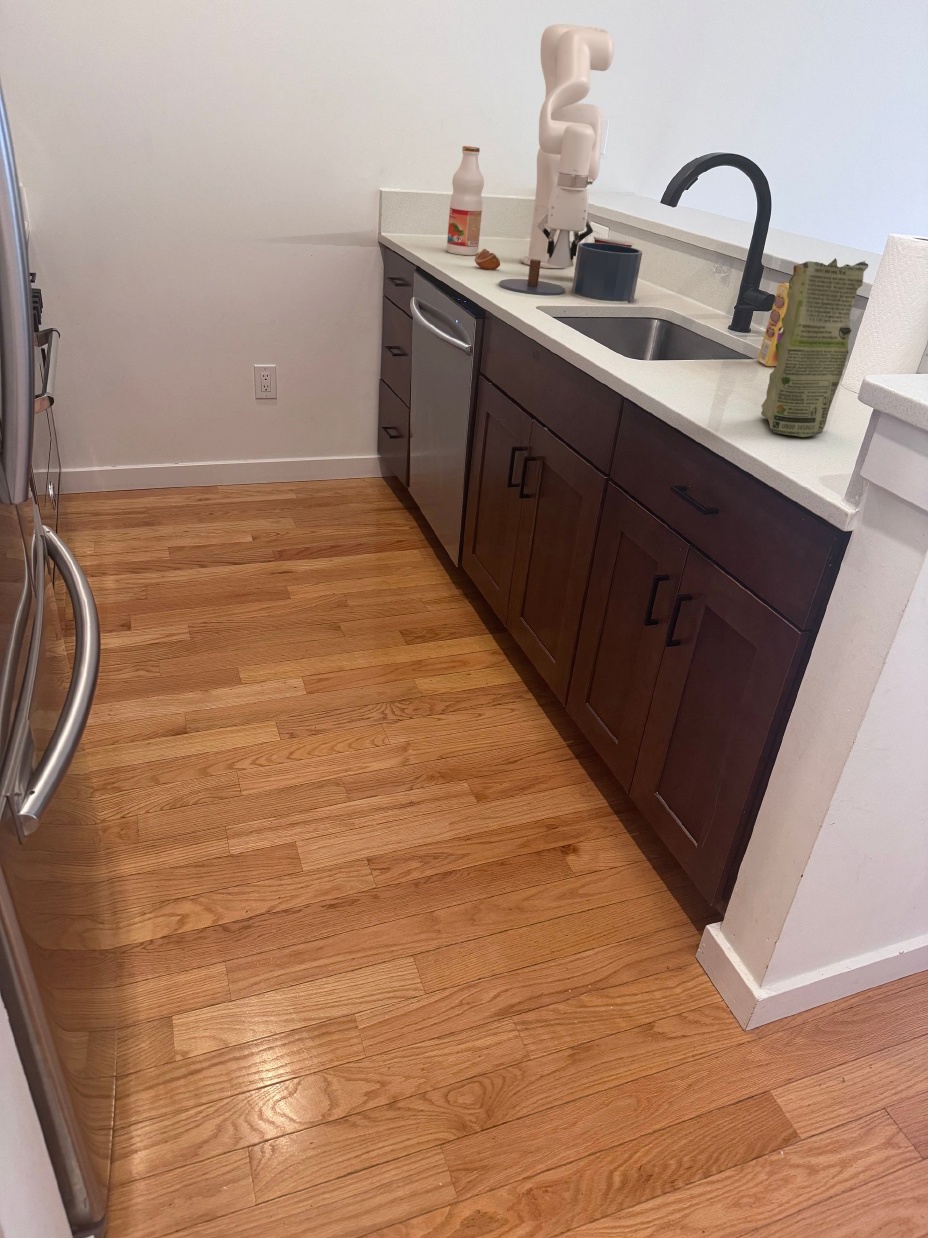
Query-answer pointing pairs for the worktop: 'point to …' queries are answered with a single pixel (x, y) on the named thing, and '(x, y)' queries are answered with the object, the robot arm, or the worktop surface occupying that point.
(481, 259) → the fruit slice
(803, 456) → the worktop surface
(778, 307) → the candy box
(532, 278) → the lid
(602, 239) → the plastic cup
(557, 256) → the flask
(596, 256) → the pot
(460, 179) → the fruit juice
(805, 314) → the pouch
